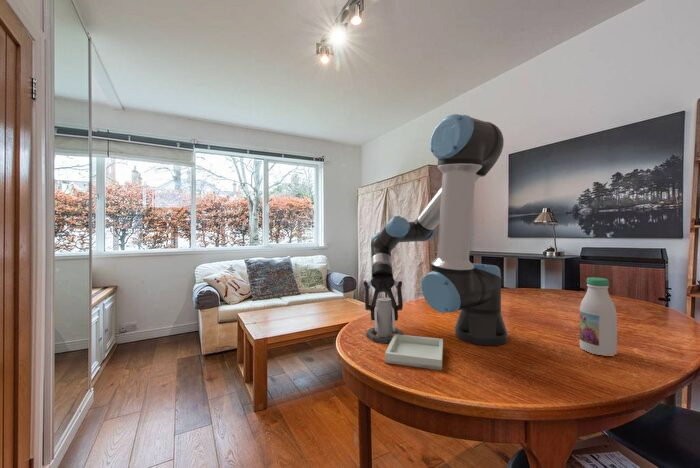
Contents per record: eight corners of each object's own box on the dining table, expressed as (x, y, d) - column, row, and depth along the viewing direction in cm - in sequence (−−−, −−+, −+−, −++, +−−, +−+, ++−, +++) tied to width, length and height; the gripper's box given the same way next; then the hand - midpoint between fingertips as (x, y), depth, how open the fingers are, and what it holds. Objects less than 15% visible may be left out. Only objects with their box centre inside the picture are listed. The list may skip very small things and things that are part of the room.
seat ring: (404, 331, 96) (404, 328, 96) (398, 344, 86) (398, 340, 86) (372, 328, 100) (372, 325, 100) (363, 340, 89) (363, 336, 89)
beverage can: (391, 339, 90) (391, 301, 90) (376, 338, 91) (375, 300, 91) (392, 333, 95) (391, 297, 95) (377, 332, 96) (377, 297, 95)
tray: (443, 347, 83) (443, 338, 83) (441, 370, 70) (441, 360, 70) (394, 342, 88) (394, 334, 88) (385, 362, 75) (384, 353, 75)
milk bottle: (607, 347, 81) (607, 276, 81) (623, 359, 74) (623, 281, 73) (574, 344, 84) (574, 275, 83) (586, 355, 76) (586, 280, 76)
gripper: (405, 274, 107) (413, 335, 91) (357, 275, 108) (356, 334, 92) (407, 262, 102) (415, 323, 86) (356, 262, 103) (355, 323, 87)
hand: (385, 329), depth 89 cm, fingers closed on beverage can, 5 cm apart
